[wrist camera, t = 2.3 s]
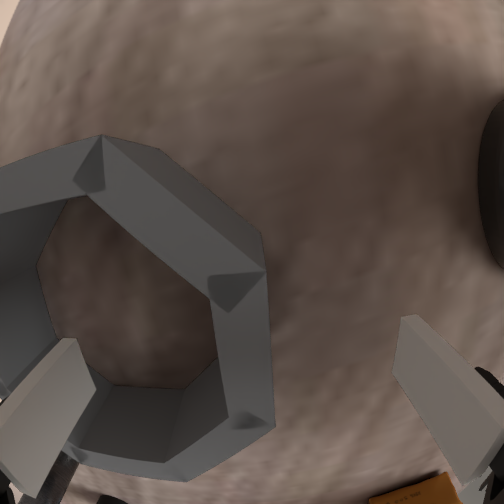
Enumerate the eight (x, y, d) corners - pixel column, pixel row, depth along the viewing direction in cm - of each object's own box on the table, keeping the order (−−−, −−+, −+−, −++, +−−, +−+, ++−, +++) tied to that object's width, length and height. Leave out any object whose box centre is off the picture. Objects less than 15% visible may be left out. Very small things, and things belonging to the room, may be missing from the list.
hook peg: (59, 399, 20) (-20, 520, 5) (116, 440, 21) (62, 572, 6) (46, 424, 22) (-17, 524, 7) (95, 459, 23) (48, 567, 8)
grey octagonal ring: (99, 101, 15) (29, 73, 8) (327, 289, 18) (365, 352, 11) (1, 302, 18) (-52, 337, 11) (166, 437, 21) (147, 501, 14)
